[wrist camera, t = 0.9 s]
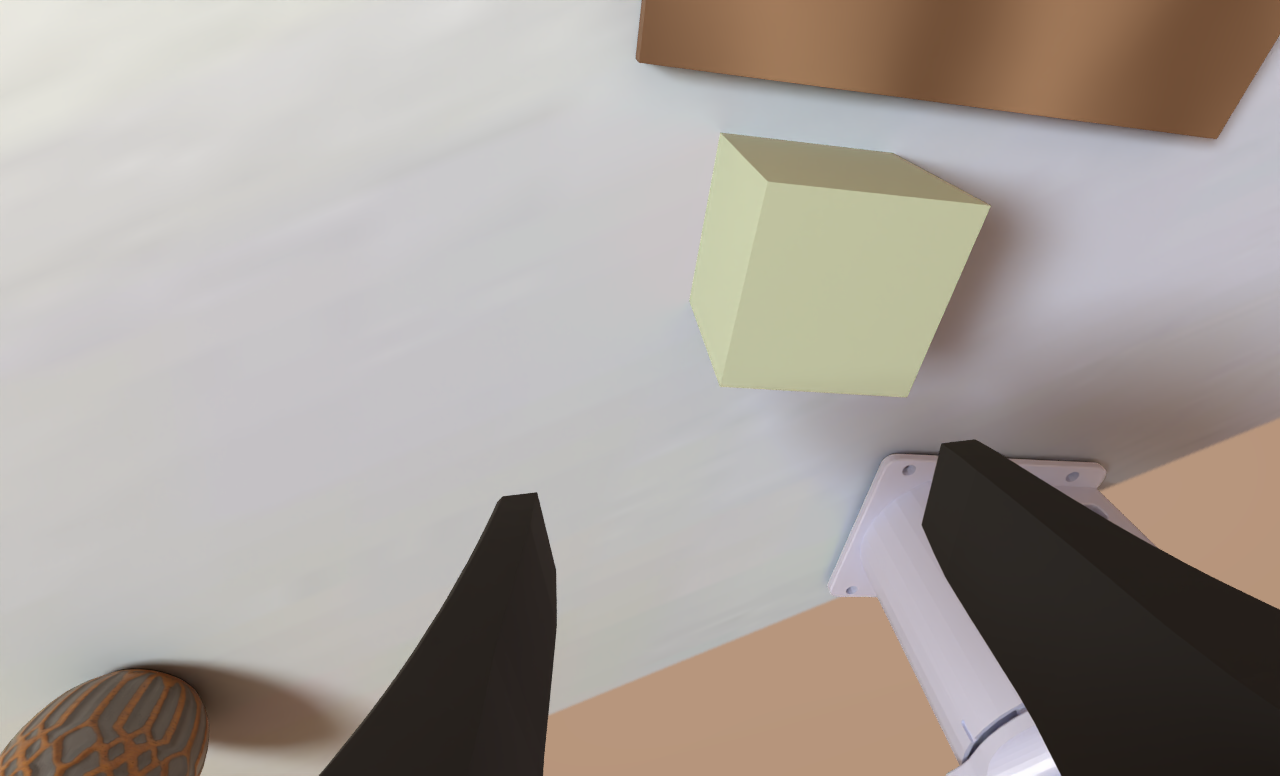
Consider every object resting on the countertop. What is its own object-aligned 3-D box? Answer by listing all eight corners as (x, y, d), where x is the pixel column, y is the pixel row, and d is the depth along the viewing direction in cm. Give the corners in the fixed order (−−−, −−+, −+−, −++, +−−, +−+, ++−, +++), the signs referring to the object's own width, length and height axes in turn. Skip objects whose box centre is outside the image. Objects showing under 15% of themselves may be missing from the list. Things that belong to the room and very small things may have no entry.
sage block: (891, 151, 17) (990, 205, 13) (838, 311, 20) (907, 397, 16) (719, 132, 17) (767, 181, 12) (689, 299, 19) (719, 386, 15)
